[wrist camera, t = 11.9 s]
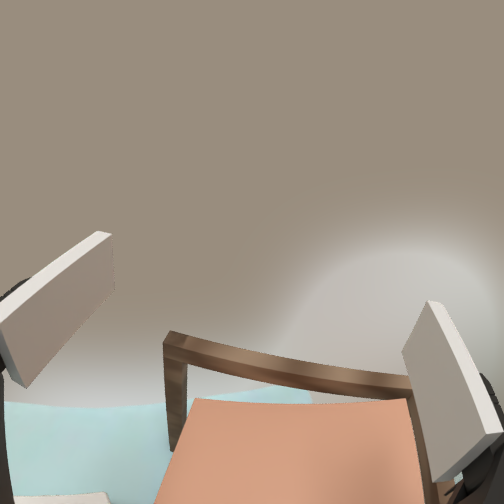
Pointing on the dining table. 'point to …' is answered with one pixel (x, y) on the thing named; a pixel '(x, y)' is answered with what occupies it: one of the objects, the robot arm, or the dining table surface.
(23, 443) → the dining table surface
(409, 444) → the trapdoor
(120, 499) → the dining table surface
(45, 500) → the jar
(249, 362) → the trapdoor frame
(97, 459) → the dining table surface
